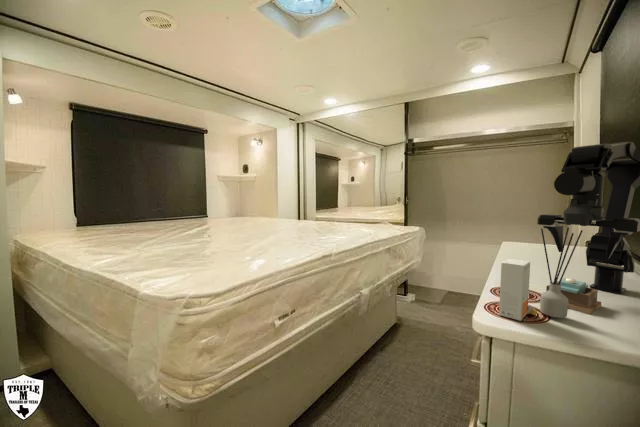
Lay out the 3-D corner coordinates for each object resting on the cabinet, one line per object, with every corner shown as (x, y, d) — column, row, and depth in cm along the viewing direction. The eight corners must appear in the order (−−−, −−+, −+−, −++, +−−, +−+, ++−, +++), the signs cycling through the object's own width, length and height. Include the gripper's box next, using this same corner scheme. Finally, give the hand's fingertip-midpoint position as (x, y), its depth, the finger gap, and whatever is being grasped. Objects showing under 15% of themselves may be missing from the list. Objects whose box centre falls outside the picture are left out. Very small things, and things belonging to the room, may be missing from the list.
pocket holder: (554, 294, 76) (555, 280, 75) (601, 306, 68) (602, 290, 68) (541, 301, 71) (542, 285, 70) (590, 314, 63) (591, 297, 63)
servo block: (566, 293, 73) (568, 274, 73) (586, 298, 70) (588, 278, 70) (554, 300, 68) (555, 279, 68) (575, 305, 65) (577, 283, 65)
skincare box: (521, 321, 58) (524, 265, 58) (498, 315, 62) (500, 262, 61) (528, 313, 62) (530, 261, 62) (506, 308, 66) (508, 258, 65)
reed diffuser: (565, 312, 64) (572, 226, 62) (592, 327, 57) (600, 230, 55) (518, 310, 64) (524, 225, 63) (539, 324, 58) (546, 228, 56)
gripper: (530, 195, 74) (527, 252, 75) (634, 195, 59) (628, 267, 60) (546, 194, 80) (543, 247, 82) (644, 195, 65) (639, 260, 66)
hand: (582, 254), depth 72 cm, fingers open, 9 cm apart
